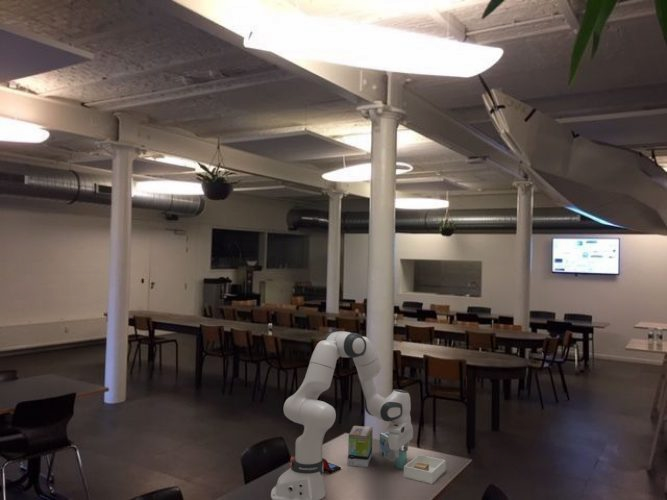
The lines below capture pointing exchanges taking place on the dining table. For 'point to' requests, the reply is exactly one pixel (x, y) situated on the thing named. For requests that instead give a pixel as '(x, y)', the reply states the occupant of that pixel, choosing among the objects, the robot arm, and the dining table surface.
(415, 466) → the oak cube
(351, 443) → the tea box
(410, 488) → the dining table surface
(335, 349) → the robot arm
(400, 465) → the teal cylinder
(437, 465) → the grey tote
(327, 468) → the handheld game console
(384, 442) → the light bulb box
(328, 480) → the dining table surface
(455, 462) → the dining table surface
